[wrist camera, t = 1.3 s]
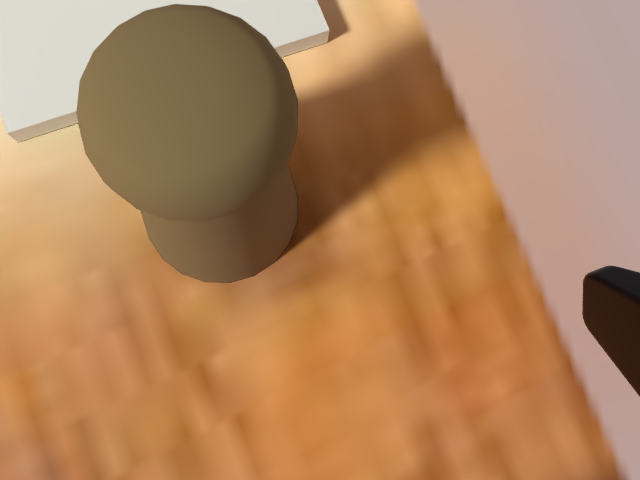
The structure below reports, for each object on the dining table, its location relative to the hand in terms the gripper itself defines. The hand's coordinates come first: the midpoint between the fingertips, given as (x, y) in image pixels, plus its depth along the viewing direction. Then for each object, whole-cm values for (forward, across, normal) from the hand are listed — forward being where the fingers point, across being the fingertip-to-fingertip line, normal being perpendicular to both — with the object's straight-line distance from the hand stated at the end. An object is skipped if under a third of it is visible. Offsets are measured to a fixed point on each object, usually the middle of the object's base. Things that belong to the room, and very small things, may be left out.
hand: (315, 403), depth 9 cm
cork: (+16, 0, +4) cm, 16 cm away
